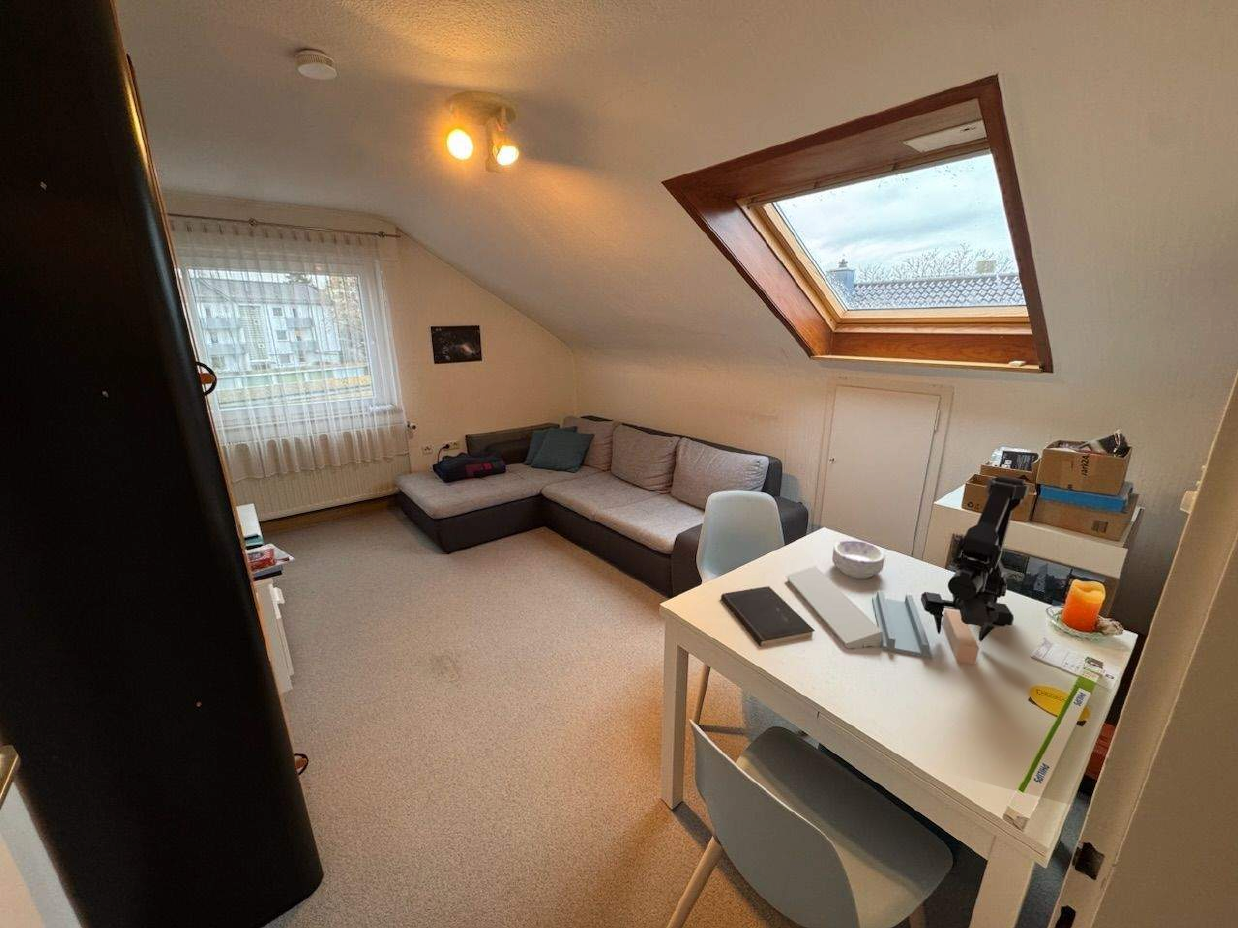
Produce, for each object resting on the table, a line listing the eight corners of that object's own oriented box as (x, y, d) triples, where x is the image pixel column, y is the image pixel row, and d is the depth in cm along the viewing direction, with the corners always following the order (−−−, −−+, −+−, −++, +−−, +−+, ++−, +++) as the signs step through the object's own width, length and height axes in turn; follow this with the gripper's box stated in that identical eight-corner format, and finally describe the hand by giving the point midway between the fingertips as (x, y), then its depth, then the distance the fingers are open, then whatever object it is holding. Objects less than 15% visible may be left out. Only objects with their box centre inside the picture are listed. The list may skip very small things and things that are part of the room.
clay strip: (958, 627, 136) (962, 611, 135) (974, 665, 122) (979, 648, 120) (941, 624, 138) (945, 609, 136) (955, 661, 123) (959, 644, 122)
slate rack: (913, 606, 146) (915, 595, 145) (931, 658, 124) (934, 646, 123) (872, 599, 149) (873, 589, 148) (882, 649, 128) (884, 637, 127)
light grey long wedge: (848, 658, 129) (884, 645, 129) (845, 643, 127) (882, 631, 128) (788, 588, 161) (817, 578, 162) (786, 575, 160) (815, 565, 160)
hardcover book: (768, 592, 155) (768, 585, 154) (813, 637, 133) (814, 630, 133) (720, 600, 151) (721, 593, 150) (759, 648, 130) (760, 640, 129)
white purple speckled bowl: (842, 584, 158) (846, 561, 155) (823, 560, 172) (826, 539, 170) (891, 583, 158) (894, 560, 156) (867, 560, 172) (870, 539, 170)
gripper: (935, 592, 120) (924, 647, 125) (1029, 607, 114) (1013, 664, 119) (925, 570, 130) (915, 622, 135) (1011, 583, 124) (998, 636, 129)
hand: (959, 636), depth 129 cm, fingers open, 9 cm apart
